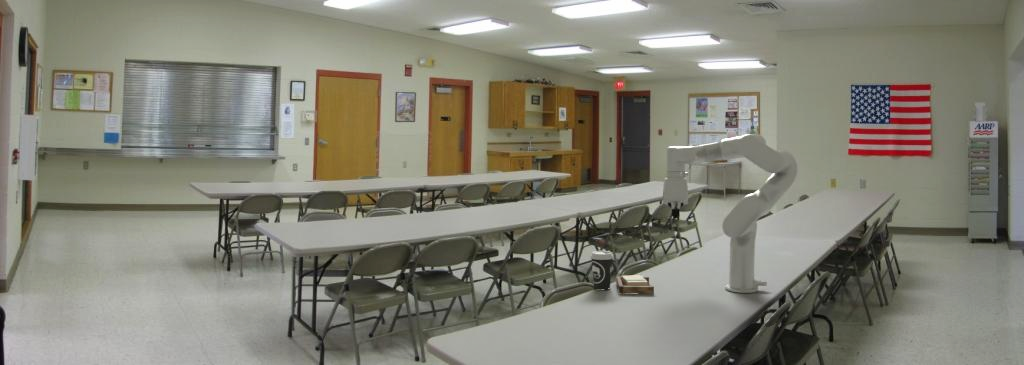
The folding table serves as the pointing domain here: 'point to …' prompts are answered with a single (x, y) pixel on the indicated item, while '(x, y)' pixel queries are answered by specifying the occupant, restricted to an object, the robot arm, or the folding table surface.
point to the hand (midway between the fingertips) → (675, 217)
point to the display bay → (634, 287)
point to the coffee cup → (601, 269)
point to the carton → (634, 280)
